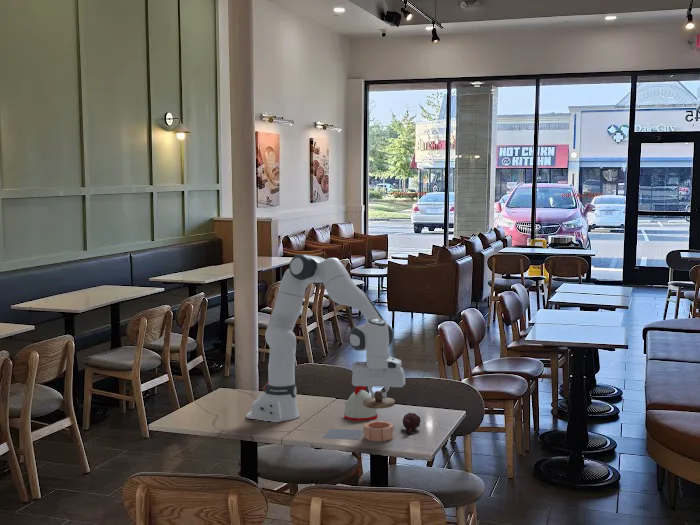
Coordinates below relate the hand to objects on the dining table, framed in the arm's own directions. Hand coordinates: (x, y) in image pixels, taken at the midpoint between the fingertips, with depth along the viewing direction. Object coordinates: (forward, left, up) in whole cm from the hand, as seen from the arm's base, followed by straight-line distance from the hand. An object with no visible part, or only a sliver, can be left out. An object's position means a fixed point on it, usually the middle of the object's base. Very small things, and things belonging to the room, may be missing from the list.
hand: (378, 397), depth 304 cm
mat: (-14, +1, -16) cm, 21 cm away
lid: (0, 0, -3) cm, 2 cm away
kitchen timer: (-13, +27, -16) cm, 34 cm away
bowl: (0, 0, -16) cm, 16 cm away
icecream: (+10, +13, -16) cm, 23 cm away
